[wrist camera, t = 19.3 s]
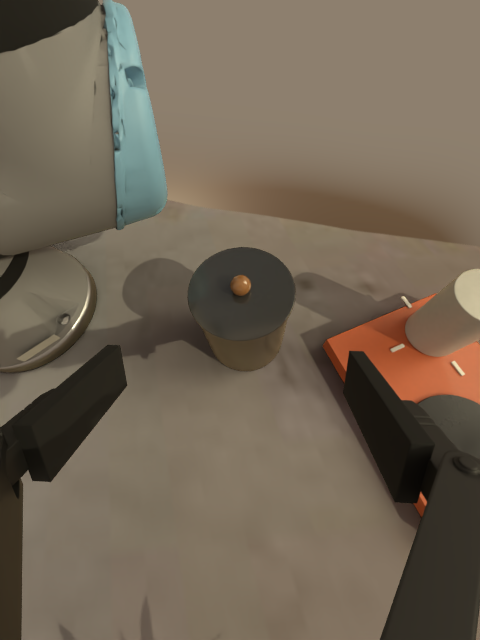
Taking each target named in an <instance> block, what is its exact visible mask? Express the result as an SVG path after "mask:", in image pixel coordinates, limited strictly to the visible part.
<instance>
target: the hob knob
mask: <svg viewBox="0 0 480 640" xmlns="http://www.w3.org/2000/svg"><path fill="white" fill-rule="evenodd" d="M405 333H406V336H407V338H408V340H409V342H410V343H411V344H412V346H414V347H415V348H416V349H417V350H418V351H420V352H422V353H424V354H426V355H429V356H434V357H442V356H446V355H449V354H451V353H453V352H455V351H457V350H459V349H461V348H463V347H465V346H468V345H470V344H472V343H474V342H476V341H478V340H480V269H472V270H468V271H465V272H463V273H462V274H460V275H459V276H458V277H456V278H455V279H454V280H453V281H452V282H451V283H449V284H448V285H447V286H446V287H445V288H443V289H442V290H441V291H440V292H439V293H437V294H436V295H435V296H434V297H433V298H431V299H430V300H429V301H428V302H427V303H426V304H424V305H423V306H422V307H421V308H420V309H418V310H417V311H416V312H415V313H414V314H412V315H411V316H410V317H409V318H408V320H407V322H406V325H405Z"/></svg>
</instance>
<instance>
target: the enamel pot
mask: <svg viewBox="0 0 480 640" xmlns="http://www.w3.org/2000/svg"><path fill="white" fill-rule="evenodd" d="M295 296H296V291H295V283H294V280H293V277H292V275H291V273H290V271H289V270H288V268H287V267H286V266H285V265H284V264H283V263H282V262H281V261H280V260H279V259H278V258H276V257H275V256H273V255H272V254H270V253H268V252H265V251H263V250H259V249H255V248H248V247H239V248H231V249H227V250H224V251H221V252H219V253H216V254H214V255H213V256H211V257H209V258H208V259H207V260H205V261H204V262H203V263H202V264H201V265H200V266H199V267H198V268H197V270H196V271H195V273H194V274H193V276H192V278H191V281H190V284H189V288H188V304H189V307H190V311H191V313H192V315H193V317H194V319H195V320H196V322H197V323H198V324H199V326H200V327H201V328H202V330H203V332H204V334H205V336H206V338H207V341H208V343H209V345H210V347H211V349H212V351H213V353H214V355H215V356H216V358H217V359H218V360H219V361H220V362H221V363H222V364H224V365H225V366H227V367H229V368H231V369H234V370H238V371H253V370H257V369H260V368H262V367H264V366H266V365H267V364H269V363H270V362H271V361H272V360H273V359H274V358H275V357H276V355H277V354H278V352H279V350H280V347H281V344H282V340H283V336H284V332H285V328H286V324H287V320H288V318H289V316H290V314H291V312H292V309H293V306H294V302H295Z"/></svg>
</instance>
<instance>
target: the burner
mask: <svg viewBox="0 0 480 640" xmlns="http://www.w3.org/2000/svg"><path fill="white" fill-rule="evenodd" d="M417 404H418V405H419V406H421V407H422V408H423V409H424V410H425V411H426V412H427V413H428V415H429V416H430V418H431V419H433V420H434V422H435V423H436V424H437V426H439V427H440V429H441V430H442V431H443V432H444V433H445V434H446V436H447V437H448V438H449V439H450V440H451V441H452V443H453V444H454V445H455V446H456V447H457V448H458V450H459V451H462V452H465V453H468V454H470V455H472V456H474V457H476V458H478V459H480V404H478V403H476V402H474V401H472V400H470V399H467V398H464V397H460V396H455V395H436V396H431V397H428V398H426V399H423V400H422V401H420V402H418V403H417Z"/></svg>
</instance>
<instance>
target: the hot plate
mask: <svg viewBox="0 0 480 640" xmlns="http://www.w3.org/2000/svg"><path fill="white" fill-rule="evenodd" d="M435 295H436V293H435V294H433V295H431V296H428V297H426V298H424V299H421V300H419V301H416V302H414V303H412V304H410V303H409V302H408V300H407V299H406V298H405V296H403V297H401V299H402V300H403V302H404V303H405V304H406V306H405V307H402V308H400V309H398V310H395V311H393V312H390V313H388V314H386V315H383V316H381V317H379V318H376V319H374V320H371V321H369V322H367V323H364V324H362V325H360V326H357V327H355V328H353V329H350V330H348V331H345V332H343V333H341V334H338V335H336V336H334V337H331V338H329V339H327V340H326V341H325V343H324V344H323V348H324V349H325V351H326V353H327V355H328V356H329V358H330V360H331V362H332V363H333V365H334V367H335V369H336V370H337V372H338V374H339V375H340V377H341V379H342V381H343V382H344V383H345V376H346V370H347V363H348V356H349V351H364V353H365V354H366V355H367V356H368V358H369V359H370V360H371V362H372V363H373V364H374V365H375V367H376V368H377V369H378V371H379V372H380V373H381V374H382V376H383V377H384V378H385V380H386V381H387V382H388V383H389V385H390V386H391V387H392V389H393V390H394V391H395V393H396V394H397V395H398V396H399V398H400V399H401V400H412V401H413V402H415V403H416V404H417V403H418V402H420V401H422V400H423V399H426V398H428V397H431V396H436V395H455V396H460V397H464V398H467V399H470V400H472V401H474V402H476V403H478V404H480V344H479V343H478V342H477V341H476V342H474V343H472V344H470V345H468V346H465V347H463V348H461V349H459V350H457V351H455V352H453V353H451V354H449V355H446V356H442V357H434V356H429V355H426V354H424V353H422V352H420V351H418V350H417V349H416V348H415V347H414V346H412V344H411V343H410V342H409V340H408V338H407V336H406V333H405V325H406V322H407V320H408V318H409V317H410V316H411V315H412V314H414V313H415V312H416V311H417V310H418V309H420V308H421V307H422V306H423V305H424V304H426V303H427V302H428V301H429V300H430V299H431V298H433V297H434V296H435ZM413 504H414V505H415V507H416V509H417V511H418V512H419V514H420V516H421V518H422V515H423V512H424V509H425V506H426V504H427V501H426V499H425V498H424V496H423V494H422V493H421V492H420V495H419V499H418V502H417V503H413Z"/></svg>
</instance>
